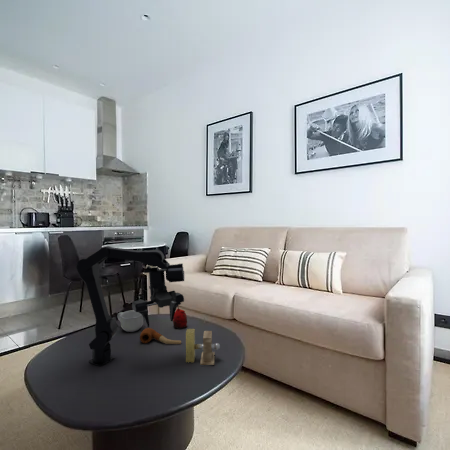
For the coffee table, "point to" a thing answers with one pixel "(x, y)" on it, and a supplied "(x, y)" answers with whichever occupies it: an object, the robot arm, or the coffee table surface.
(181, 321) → the red clay folk toy
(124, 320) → the teacup
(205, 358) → the eye post
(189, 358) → the olive block with rod
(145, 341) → the smoking pipe
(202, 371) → the coffee table surface
